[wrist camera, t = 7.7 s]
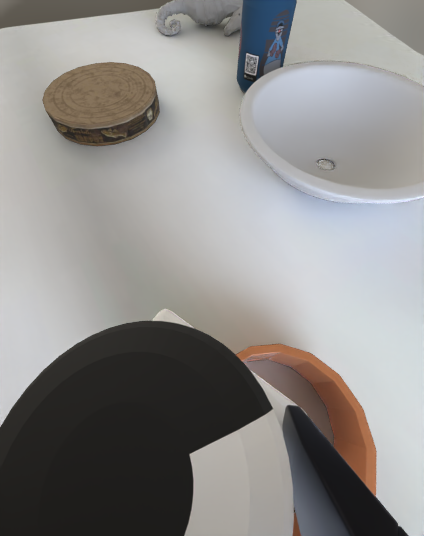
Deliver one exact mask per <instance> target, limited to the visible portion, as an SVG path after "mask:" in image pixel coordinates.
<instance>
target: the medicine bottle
mask: <svg viewBox="0 0 424 536" xmlns="http://www.w3.org/2000/svg"><path fill="white" fill-rule="evenodd" d="M287 405H296V406H298V405H297V404H295V403H294V402H293V401H291V400H290V399H289V398H287V397H286V396H285V395H283V394H282V393H281V392H279V391H278V390H277V389H275V388H274V387H273V386H271V385H270V384H269V383H267V382H266V381H265V380H263V379H262V378H261V377H259V376H258V375H257V374H255V373H254V372H253V371H251V370H250V369H248V368H247V366H246V365H245V364H244V363H243V362H242V361H241V360H240V359H239V357H238V356H236V355H235V354H234V353H233V352H232V351H231V350H229V349H228V348H227V347H226V346H225V345H224V344H222V343H220V342H219V341H217V340H216V339H214V338H213V337H211V336H209V335H208V334H205V333H203V332H201V331H199V330H197V329H195V328H194V327H192V326H191V325H190V324H188V323H187V322H186V321H184V320H183V319H182V318H180V317H179V316H178V315H176V314H175V313H174V312H172V311H171V310H168V309H163V310H161V311H160V312H159V313H158V314H157V315H156V316H155V317H154V319H153V320H152V321H139V322H132V323H126V324H122V325H119V326H115V327H111V328H108V329H106V330H103V331H101V332H99V333H96V334H94V335H92V336H90V337H88V338H86V339H85V340H83V341H81V342H79V343H77V344H76V345H74V346H73V347H71V348H70V349H69V350H67V351H66V352H64V353H63V354H62V355H60V356H59V357H58V358H57V359H56V360H54V361H53V362H52V363H51V364H50V365H49V366H48V367H47V368H45V369H44V370H43V371H42V372H41V373H40V374H39V376H38V377H37V378H36V379H35V380H34V381H33V382H32V383H31V384H30V385H29V386H28V388H27V389H26V390H25V391H24V393H23V394H22V395H21V397H20V398H19V399H18V401H17V402H16V403H15V405H14V406H13V407H12V409H11V411H10V412H9V414H8V416H7V417H6V419H5V420H4V422H3V424H2V425H1V427H0V536H293V523H294V506H293V484H292V477H291V470H290V463H289V457H288V453H287V449H286V445H285V441H284V437H283V430H282V424H283V418H284V413H285V408H286V406H287ZM301 409H302V408H301ZM302 410H303V409H302ZM303 411H304V410H303ZM304 412H305V411H304ZM305 413H306V412H305ZM306 414H307V413H306ZM307 416H308V415H307Z"/></svg>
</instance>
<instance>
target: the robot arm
mask: <svg viewBox="0 0 424 536" xmlns="http://www.w3.org/2000/svg"><path fill="white" fill-rule="evenodd" d="M282 430H283V437H284V441H285V445H286V449H287V453H288V457H289V463H290V470H291V477H292V484H293V503H294V507H295V512H296V516H297V520H298V525H299V529H300V534H301V536H408V535H407V533H406V532H405V531H404V530H403V529H402V527H400V526H398V523H397V522H396V520H395V519H394V518H393V517H392V516H391V515H390V513H389V512H388V511H387V510H386V509H385V507H384V506H383V505H382V504H381V503H380V501H379V500H378V499H377V498H376V497H375V495H374V494H373V493H372V492H371V491H370V490H369V488H368V487H367V486H366V485H365V484H364V482H363V481H362V480H361V479H360V478H359V476H358V475H357V474H356V473H355V472H354V470H353V469H352V468H351V467H350V466H349V464H348V463H347V462H346V461H345V460H344V459H343V457H342V456H341V455H340V454H339V453H338V451H337V450H336V449H335V448H334V447H333V445H332V444H331V443H330V442H329V441H328V439H327V438H326V437H325V436H324V435H323V434H322V432H321V431H320V430H319V429H318V428H317V426H316V425H315V424H314V423H313V422H312V420H311V419H310V418H309V417H308V416H307V414H306V413H305V412H304V411H303V410H302V409H301V407H299V406H296V405H287V406H286V408H285V413H284V418H283V424H282Z"/></svg>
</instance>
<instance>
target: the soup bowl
mask: <svg viewBox="0 0 424 536" xmlns="http://www.w3.org/2000/svg"><path fill="white" fill-rule="evenodd" d="M239 117H240V125H241V129H242V132H243V134H244V137H245V138H246V140H247V142H248V144H249V145H250V147H251V148H252V149H253V151H254V152H255V153H256V154H257V155H258V156H259V157H260V158H261V159H262V160H263V161H264V162H265V163H266V164H267V165H269V166H270V167H271V169H272V170H273V171H274V172H275V173H276V174H277V175H278V176H279V177H281V178H282V179H283V180H284V181H286V182H287V183H288V184H290V185H291V186H293V187H294V188H296V189H298V190H300V191H302V192H304V193H306V194H309V195H311V196H314V197H317V198H321V199H324V200H329V201H334V202H341V203H399V202H407V201H413V200H417V199H421V198H424V86H423V85H421V84H419V83H417V82H415V81H413V80H411V79H409V78H406V77H404V76H402V75H399V74H396V73H394V72H391V71H388V70H385V69H381V68H378V67H373V66H369V65H364V64H359V63H352V62H343V61H311V62H303V63H297V64H292V65H288V66H285V67H281V68H279V69H276V70H274V71H271V72H269V73H267V74H266V75H264V76H262V77H261V78H259V79H258V80H257V81H256V82H254V83H253V84H252V85H251V86H250V88H249V89H248V90H247V92H246V93H245V95H244V97H243V99H242V102H241V106H240V113H239ZM320 159H327V160H330V161H332V162H333V163H334V165H335V168H334V169H333V170H323V169H321V168H320V167H318V165H317V161H318V160H320Z"/></svg>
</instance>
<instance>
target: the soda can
mask: <svg viewBox="0 0 424 536" xmlns="http://www.w3.org/2000/svg"><path fill="white" fill-rule="evenodd" d="M296 2H297V1H296V0H243V6H242V18H241V31H240V44H239V56H238V69H237V81H238V84H239V86H240V89H241V91H242V92H243V93H246V92H247V90H248V89H249V88H250V86H251V85H252V84H253V83H254V82H256V81H257V80H258V79H259V78H261V77H262V76H264V75H266V74H267V73H269V72H271V71H274V70H276V69H279V68H281V67H283V63H284V58H285V53H286V49H287V44H288V39H289V35H290V30H291V25H292V21H293V16H294V11H295V7H296Z"/></svg>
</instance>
